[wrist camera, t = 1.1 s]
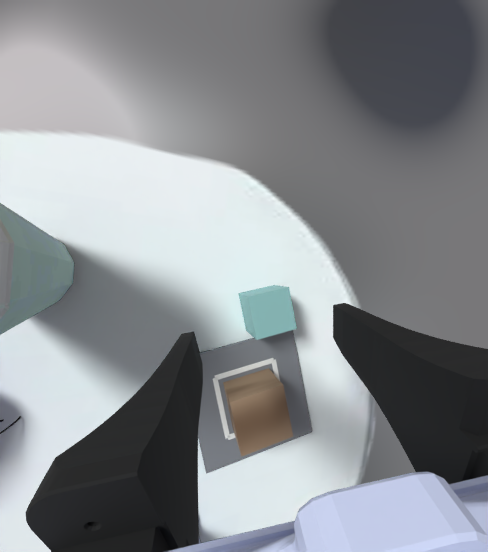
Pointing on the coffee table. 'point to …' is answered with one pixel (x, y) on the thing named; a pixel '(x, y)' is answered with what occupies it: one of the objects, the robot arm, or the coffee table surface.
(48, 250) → the disposable coffee cup
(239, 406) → the walnut block
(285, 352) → the mat
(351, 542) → the robot arm
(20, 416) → the game controller
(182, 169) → the coffee table surface
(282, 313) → the teal cube
